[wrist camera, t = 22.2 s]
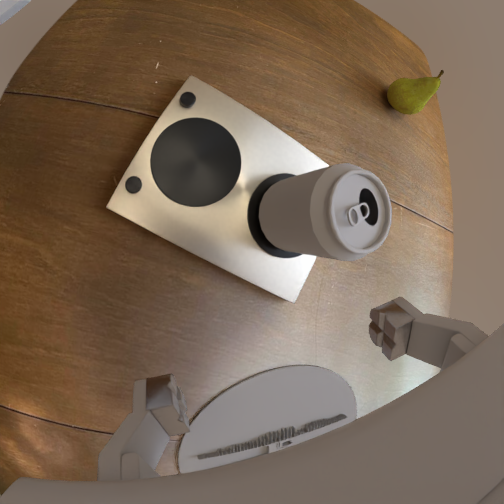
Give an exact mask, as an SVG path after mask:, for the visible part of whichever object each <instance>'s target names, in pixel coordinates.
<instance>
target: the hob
mask: <svg viewBox="0 0 504 504" xmlns="http://www.w3.org/2000/svg"><path fill="white" fill-rule="evenodd" d="M325 167H329V165H328V164H327V163H325V162H324V161H323V160H321V159H320V158H319V157H317V156H316V155H315V154H313V153H312V152H311V151H309V150H308V149H307V148H305V147H304V146H302V145H301V144H300V143H298V142H297V141H296V140H294V139H293V138H291V137H290V136H288V135H287V134H286V133H284V132H283V131H281V130H280V129H278V128H277V127H275V126H274V125H272V124H271V123H270V122H268V121H267V120H265V119H263V118H262V117H260V116H259V115H257V114H256V113H254V112H253V111H251V110H250V109H248V108H246V107H245V106H243V105H242V104H240V103H238V102H237V101H235V100H234V99H232V98H230V97H229V96H227V95H225V94H224V93H222V92H220V91H219V90H217V89H215V88H213V87H212V86H210V85H208V84H206V83H205V82H203V81H201V80H199V79H198V78H196V77H194V76H192V75H190V76H189V78H188V79H187V80H186V82H185V83H184V84H183V86H182V87H181V88H180V90H179V91H178V92H177V94H176V95H175V96H174V98H173V99H172V101H171V102H170V103H169V105H168V106H167V108H166V109H165V110H164V112H163V113H162V115H161V116H160V118H159V119H158V121H157V122H156V124H155V125H154V127H153V128H152V130H151V131H150V133H149V134H148V136H147V137H146V139H145V140H144V142H143V144H142V145H141V147H140V148H139V150H138V152H137V153H136V155H135V156H134V158H133V160H132V161H131V163H130V165H129V167H128V168H127V170H126V172H125V173H124V175H123V177H122V179H121V180H120V182H119V184H118V186H117V188H116V190H115V191H114V193H113V195H112V197H111V199H110V201H109V203H108V205H107V206H106V208H108V209H110V210H111V211H113V212H115V213H117V214H119V215H121V216H122V217H124V218H126V219H128V220H130V221H132V222H134V223H135V224H137V225H139V226H141V227H143V228H145V229H147V230H149V231H151V232H152V233H154V234H156V235H158V236H160V237H162V238H164V239H166V240H168V241H170V242H171V243H173V244H175V245H177V246H179V247H181V248H183V249H185V250H187V251H189V252H191V253H193V254H195V255H197V256H199V257H200V258H202V259H204V260H206V261H208V262H210V263H212V264H214V265H216V266H218V267H220V268H222V269H224V270H226V271H228V272H230V273H232V274H234V275H236V276H238V277H240V278H242V279H244V280H246V281H248V282H250V283H252V284H254V285H256V286H258V287H260V288H262V289H264V290H266V291H268V292H270V293H272V294H274V295H276V296H279V297H281V298H283V299H285V300H287V301H289V302H291V303H293V304H294V303H295V301H296V299H297V297H298V295H299V293H300V291H301V289H302V287H303V285H304V283H305V281H306V278H307V276H308V274H309V272H310V270H311V268H312V266H313V264H314V261H315V259H316V257H317V256H312V255H306V254H301V253H295V252H289V251H284V250H282V249H279V248H277V247H275V246H274V245H273V244H272V243H271V242H270V241H269V240H268V239H267V238H266V236H265V235H264V233H263V231H262V229H261V225H260V220H259V208H260V203H261V201H262V198H263V196H264V194H265V193H266V191H267V190H268V189H269V188H270V187H271V186H272V185H274V184H275V183H277V182H279V181H280V180H284V179H287V178H290V177H294V176H297V175H301V174H304V173H307V172H311V171H314V170H318V169H321V168H325Z"/></svg>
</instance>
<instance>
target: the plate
mask: <svg viewBox="0 0 504 504" xmlns="http://www.w3.org/2000/svg"><path fill="white" fill-rule="evenodd" d="M356 417H357V404H356V399H355V396H354V393H353V391H352V389H351V387H350V386H349V384H348V383H347V382H346V381H345V380H344V379H343V378H342V377H341V376H339V375H338V374H336V373H335V372H333V371H331V370H328V369H325V368H322V367H318V366H311V365H292V366H285V367H279V368H275V369H271V370H268V371H264V372H261V373H258V374H256V375H253V376H251V377H249V378H247V379H245V380H243V381H241V382H238V383H237V384H235V385H233V386H232V387H230V388H228V389H227V390H225V391H224V392H222V393H221V394H219V395H218V396H217V397H216V398H214V399H213V400H212V401H211V402H210V403H209V404H207V405H206V406H205V407H204V408H203V409H202V410H201V411H200V412H199V414H198V415H197V416H196V417H195V418H194V419H193V421H192V422H191V423H190V425H189V426H190V432H188V433H185V434H184V436H183V438H182V440H181V444H180V447H179V452H178V463H179V469H180V472H181V474H183V473H189V472H194V471H200V470H205V469H210V468H215V467H219V466H224V465H228V464H232V463H236V462H240V461H244V460H247V459H251V458H255V457H258V456H262V455H265V454H268V453H271V452H275V451H278V450H281V449H284V448H287V447H290V446H293V445H295V444H298V443H301V442H304V441H306V440H309V439H312V438H314V437H317V436H319V435H322V434H324V433H327V432H329V431H332V430H334V429H336V428H339V427H341V426H343V425H345V424H348V423H350V422H352V421H354V420H356Z"/></svg>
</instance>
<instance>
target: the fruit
mask: <svg viewBox="0 0 504 504" xmlns="http://www.w3.org/2000/svg"><path fill="white" fill-rule="evenodd" d="M443 73H444V71H443V70H441V72H440V74H439V75H438V77H425V78H419V79H408V78H400V79H397V80H396V81H394V82H393V83H392V84H391V85H390V87H389V89H388V92H387V98H388V101H389V103H390V105H391V106H392V107H393V108H394V109H395V110H397V111H399V112H401V113H403V114H416V113H418V112H420V111H421V110H422V109H423V107H424V106H425V104H426V103H427V101H428V100H429V99H430V98H431V97H432V95H434V94H435V92H436V91H437V90H438V88H439V86H440V79H439V77H440V76H441V75H442V74H443Z"/></svg>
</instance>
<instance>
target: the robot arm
mask: <svg viewBox="0 0 504 504" xmlns="http://www.w3.org/2000/svg"><path fill="white" fill-rule="evenodd" d="M370 318H371V319H372V322H371V323H370V325H369V334H370V338H371V340H372V341H373V343H374V344H375V345H376V346H379V347H382V353H383V354H384V355H385V356H386V357H387V358H388V359H389V360H390V361H392V360H394V359H396V358H398V357H400V356H402V355H404V354H406V353H407V355H409V356H411V357H414V358H416V359H419V360H421V361H424V362H426V363H429V364H432V365H434V366H437V367H439V368H441V370H440V373H438V374H437V375H435V376H434V377H432V378H431V379H429V380H427V381H426V382H424V383H423V384H421V385H419V386H418V387H416V388H414V389H413V390H411V391H409V392H408V393H406V394H404V395H402V396H401V397H399V398H397V399H395V400H393V401H392V402H390V403H388V404H386V405H384V406H382V407H380V408H378V409H377V410H375V411H373V412H371V413H369V414H367V415H365V416H363V417H360V418H358V419H356V420H354V421H352V422H350V423H348V424H345V425H343V426H341V427H339V428H336V429H334V430H332V431H329V432H327V433H324V434H322V435H319V436H317V437H314V438H312V439H309V440H306V441H304V442H301V443H298V444H295V445H293V446H290V447H287V448H284V449H281V450H278V451H275V452H271V453H268V454H265V455H262V456H258V457H255V458H251V459H247V460H244V461H240V462H236V463H232V464H228V465H224V466H219V467H215V468H210V469H205V470H200V471H194V472H189V473H183V474H177V475H170V476H162V477H161V476H160V475H159V474H158V473H157V472H156V471H154V470H155V468H156V466H157V464H158V462H159V460H160V458H161V456H162V453H163V451H164V449H165V447H166V445H167V443H168V441H169V439H170V436H174V435H179V434H184V433H188V432H190V426H189V419H188V417H187V415H186V414H185V412H186V411H187V406H186V401H185V397H184V395H183V392H182V390H181V388H180V387H178V386H177V383H176V379H175V377H174V375H173V374H167V375H162V376H157V377H151V378H147V379H142V380H136V381H135V383H134V390H133V413H129V414H128V416H127V417H126V418H125V420H124V421H123V422H122V424H121V425H120V426H119V428H118V429H117V431H116V432H115V433H114V435H113V436H112V437H111V439H110V440H109V441H108V443H107V444H106V445H105V447H104V448H103V449H102V451H101V452H100V454H99V458H98V477H97V481H65V480H49V479H39V478H31V477H21V478H18V479H17V480H16V481H15V482H14V483H13V484H12V485H11V486H10V487H9V488H8V489H7V490H6V491H5V492H4V493H3V495H2V496H1V497H0V504H504V324H503V325H502V326H501V327H499V328H498V329H497V330H496V331H495V332H493V333H492V334H491V335H490V336H488V335H486V334H485V333H484V332H483V331H481V330H480V329H479V328H478V327H476V326H475V325H474V324H472V323H470V322H465V321H460V320H455V319H451V318H446V317H441V316H437V315H432V314H425V315H424V314H423V313H422V312H420V311H419V310H418V309H417V308H415V307H414V306H413V305H412V304H410V303H409V302H408V301H407V300H405V299H404V298H403V297H398V298H396V299H394V300H391V301H390V302H387V303H385V304H383V305H380V306H378V307H376V308H373V309H371V311H370Z"/></svg>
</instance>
